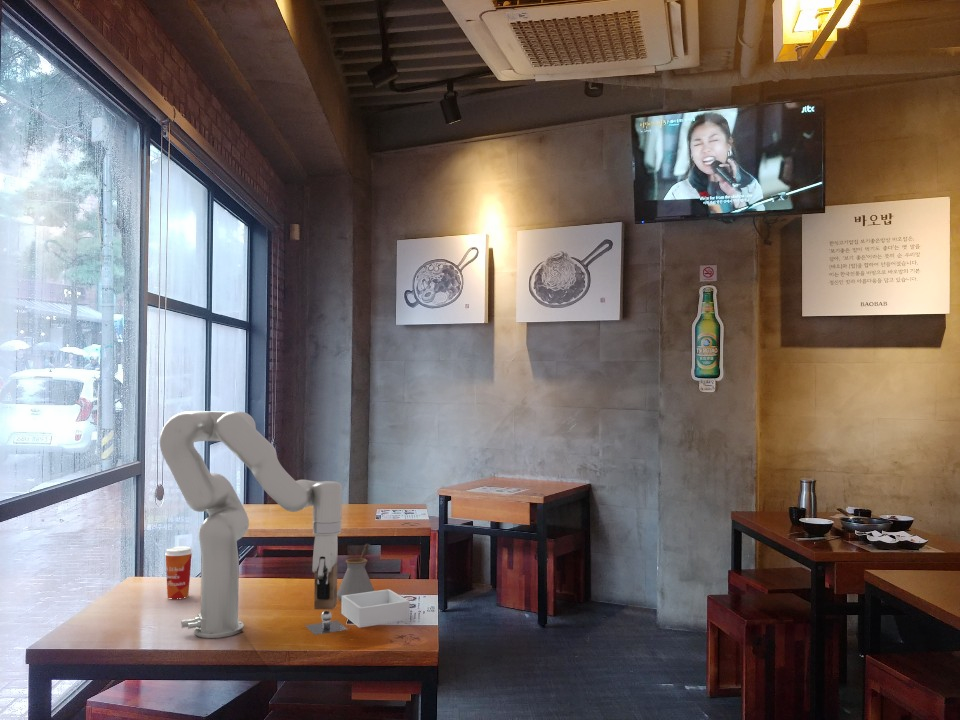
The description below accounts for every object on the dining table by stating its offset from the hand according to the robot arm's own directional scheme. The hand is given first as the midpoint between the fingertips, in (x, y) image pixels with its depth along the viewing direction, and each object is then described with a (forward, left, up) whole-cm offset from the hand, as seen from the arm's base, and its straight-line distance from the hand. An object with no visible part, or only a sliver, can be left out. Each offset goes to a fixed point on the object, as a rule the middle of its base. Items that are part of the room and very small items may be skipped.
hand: (325, 595), depth 199 cm
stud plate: (0, 0, -9) cm, 9 cm away
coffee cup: (-30, +55, -10) cm, 63 cm away
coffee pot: (+19, +26, -10) cm, 34 cm away
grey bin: (+15, +3, -9) cm, 18 cm away
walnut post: (0, 0, -3) cm, 3 cm away
